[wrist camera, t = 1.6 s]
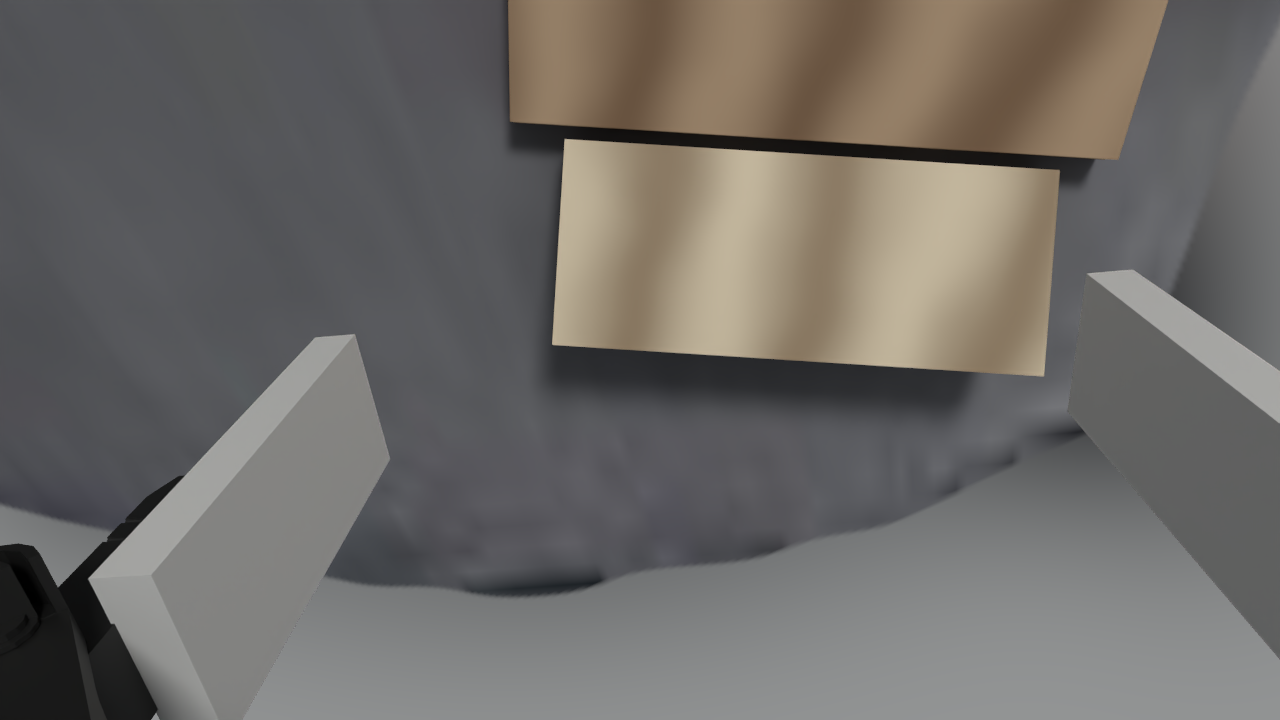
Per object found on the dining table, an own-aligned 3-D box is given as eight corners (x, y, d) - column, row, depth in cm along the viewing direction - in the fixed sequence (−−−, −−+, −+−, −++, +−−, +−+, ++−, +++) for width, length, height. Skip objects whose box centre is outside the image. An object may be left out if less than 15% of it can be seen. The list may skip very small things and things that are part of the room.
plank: (556, 344, 32) (552, 344, 30) (568, 148, 31) (564, 138, 30) (1025, 374, 32) (1043, 376, 30) (1040, 178, 31) (1059, 170, 30)
